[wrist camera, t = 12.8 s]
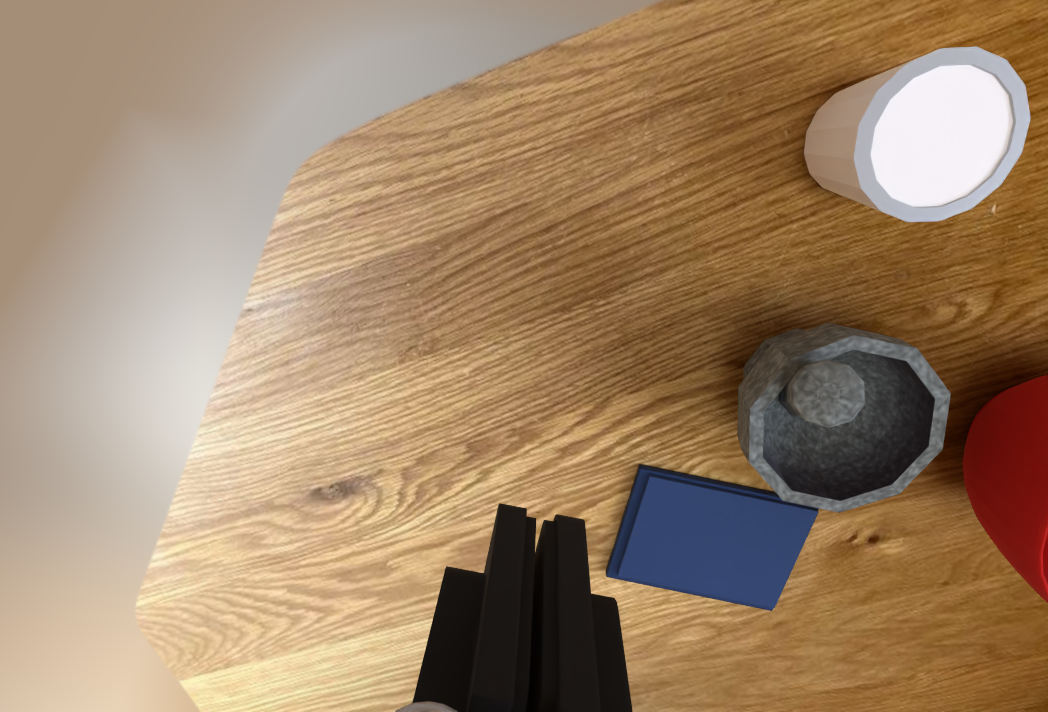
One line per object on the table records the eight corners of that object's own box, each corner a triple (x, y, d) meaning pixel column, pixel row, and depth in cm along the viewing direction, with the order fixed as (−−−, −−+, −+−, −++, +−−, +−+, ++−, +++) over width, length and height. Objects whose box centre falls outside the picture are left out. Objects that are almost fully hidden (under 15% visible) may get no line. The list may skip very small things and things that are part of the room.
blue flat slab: (605, 571, 41) (606, 581, 40) (639, 464, 37) (641, 472, 37) (769, 605, 41) (774, 615, 40) (816, 500, 38) (823, 509, 37)
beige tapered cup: (768, 124, 30) (826, 118, 24) (894, 37, 28) (995, 4, 22) (826, 232, 32) (896, 254, 25) (949, 156, 30) (1057, 159, 24)
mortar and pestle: (907, 386, 35) (1074, 501, 23) (774, 473, 37) (868, 615, 26) (801, 248, 32) (930, 302, 21) (667, 351, 35) (718, 448, 23)
